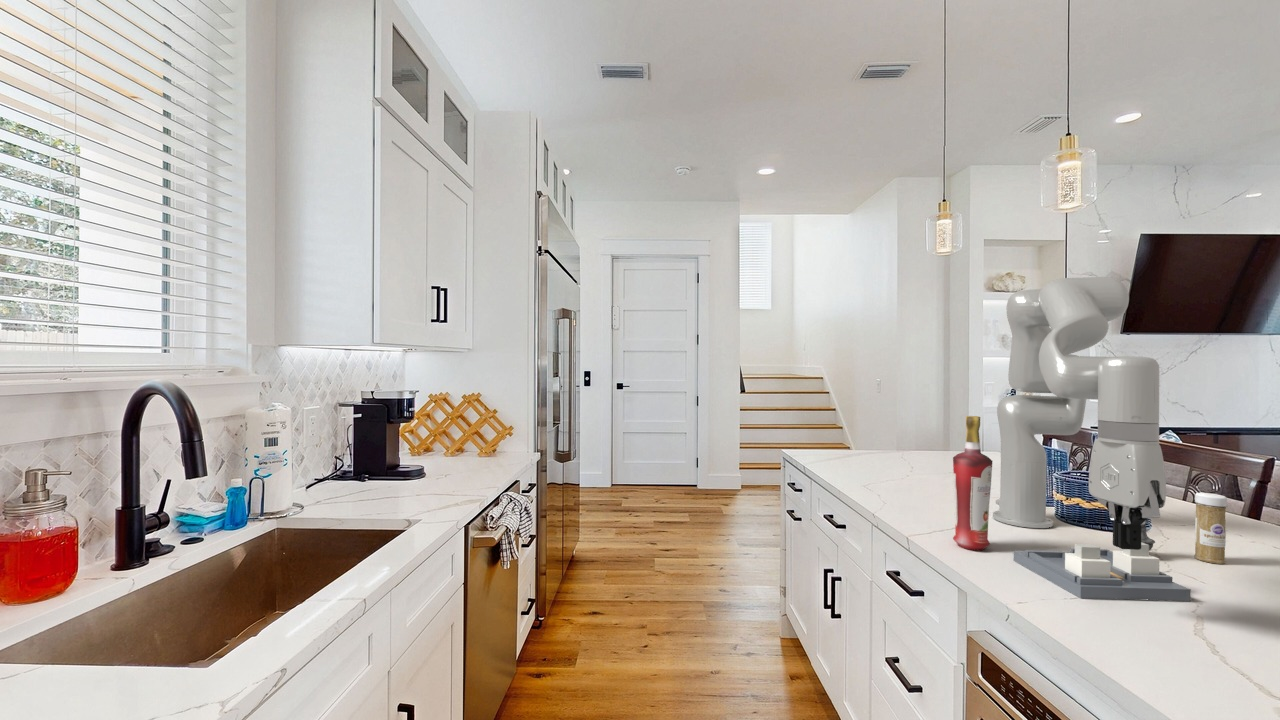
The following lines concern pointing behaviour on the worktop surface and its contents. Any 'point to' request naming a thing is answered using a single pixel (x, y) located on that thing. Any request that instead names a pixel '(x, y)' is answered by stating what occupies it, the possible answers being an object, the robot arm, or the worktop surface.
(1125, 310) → the robot arm
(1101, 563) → the tab
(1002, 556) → the worktop surface
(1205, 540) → the sprinkles bottle
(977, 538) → the liquor
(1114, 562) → the tab
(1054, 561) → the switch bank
